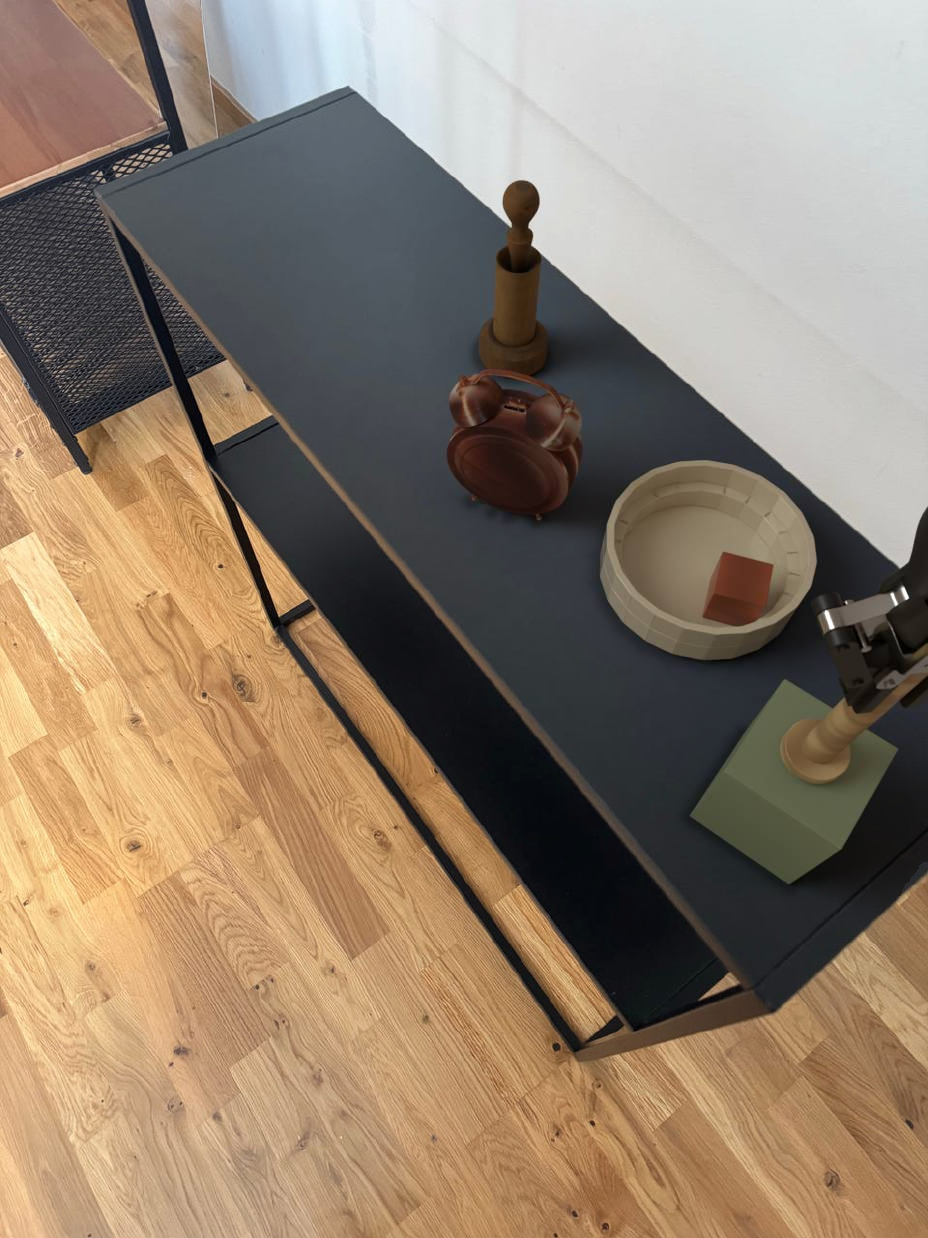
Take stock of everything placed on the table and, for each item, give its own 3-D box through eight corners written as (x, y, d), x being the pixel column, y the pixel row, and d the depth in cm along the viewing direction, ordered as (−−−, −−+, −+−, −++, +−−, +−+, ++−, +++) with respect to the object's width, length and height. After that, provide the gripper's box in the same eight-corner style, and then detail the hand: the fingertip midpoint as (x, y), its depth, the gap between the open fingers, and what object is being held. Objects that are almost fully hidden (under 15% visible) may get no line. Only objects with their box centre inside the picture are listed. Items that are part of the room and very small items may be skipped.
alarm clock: (578, 494, 78) (599, 371, 64) (561, 537, 75) (580, 418, 62) (462, 460, 80) (460, 333, 66) (442, 501, 77) (436, 378, 64)
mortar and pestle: (559, 346, 86) (578, 177, 70) (525, 389, 84) (537, 223, 68) (500, 320, 88) (507, 150, 72) (466, 361, 85) (464, 193, 69)
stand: (840, 796, 64) (898, 748, 56) (788, 885, 62) (841, 849, 53) (743, 733, 67) (784, 678, 58) (689, 816, 64) (723, 771, 55)
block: (759, 589, 72) (774, 563, 69) (751, 631, 70) (766, 606, 67) (710, 577, 73) (722, 550, 69) (701, 617, 71) (713, 592, 67)
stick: (855, 747, 55) (977, 642, 42) (827, 797, 54) (945, 706, 41) (797, 711, 56) (898, 599, 43) (768, 760, 55) (864, 659, 42)
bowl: (830, 559, 74) (852, 525, 70) (733, 701, 68) (751, 674, 64) (664, 466, 79) (676, 429, 75) (560, 591, 73) (566, 559, 69)
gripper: (929, 610, 29) (771, 778, 44) (1325, 562, 30) (1035, 744, 45) (851, 433, 32) (730, 646, 48) (1207, 395, 33) (976, 616, 48)
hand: (879, 693), depth 46 cm, fingers closed on stick, 2 cm apart
